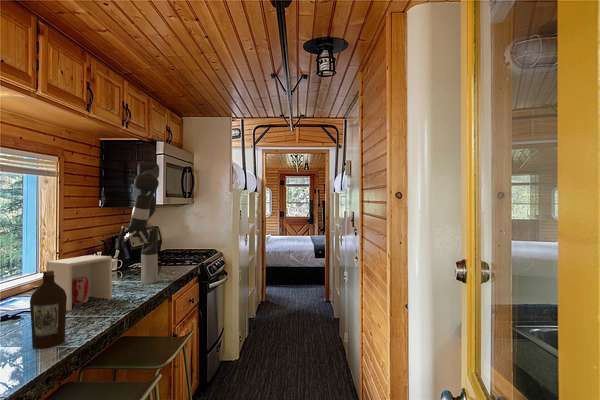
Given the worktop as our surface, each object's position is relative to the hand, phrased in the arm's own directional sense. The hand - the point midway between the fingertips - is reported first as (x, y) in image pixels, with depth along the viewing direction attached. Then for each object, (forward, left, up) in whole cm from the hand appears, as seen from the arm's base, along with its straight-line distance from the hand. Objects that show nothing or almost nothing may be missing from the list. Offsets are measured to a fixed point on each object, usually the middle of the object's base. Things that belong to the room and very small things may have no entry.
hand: (133, 248), depth 180 cm
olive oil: (+45, -25, -26) cm, 58 cm away
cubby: (-10, -24, -26) cm, 37 cm away
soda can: (-10, -24, -26) cm, 37 cm away
